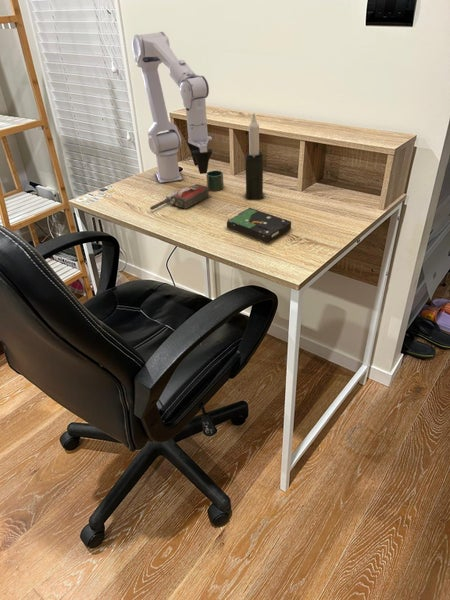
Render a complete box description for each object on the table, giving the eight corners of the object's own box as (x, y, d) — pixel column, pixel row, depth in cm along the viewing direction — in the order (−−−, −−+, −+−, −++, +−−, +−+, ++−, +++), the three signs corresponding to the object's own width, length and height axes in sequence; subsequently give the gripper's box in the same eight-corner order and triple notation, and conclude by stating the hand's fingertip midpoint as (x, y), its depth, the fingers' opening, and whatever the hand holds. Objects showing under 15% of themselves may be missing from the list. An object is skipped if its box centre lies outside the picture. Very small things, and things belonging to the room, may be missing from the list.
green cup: (205, 186, 151) (204, 171, 149) (221, 184, 152) (220, 169, 150) (209, 192, 147) (208, 177, 144) (225, 189, 148) (224, 175, 145)
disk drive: (291, 230, 124) (249, 215, 132) (292, 221, 122) (249, 206, 130) (268, 245, 117) (225, 228, 126) (268, 235, 116) (225, 219, 124)
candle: (262, 192, 145) (263, 110, 130) (262, 199, 141) (262, 115, 126) (247, 193, 145) (245, 111, 131) (246, 199, 141) (244, 115, 127)
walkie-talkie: (191, 190, 149) (148, 212, 137) (190, 177, 147) (146, 198, 134) (212, 195, 145) (169, 218, 132) (211, 182, 142) (167, 204, 130)
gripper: (216, 127, 126) (218, 175, 134) (204, 115, 138) (207, 159, 146) (191, 130, 125) (195, 178, 133) (182, 118, 136) (186, 162, 144)
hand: (200, 169), depth 139 cm, fingers open, 7 cm apart
